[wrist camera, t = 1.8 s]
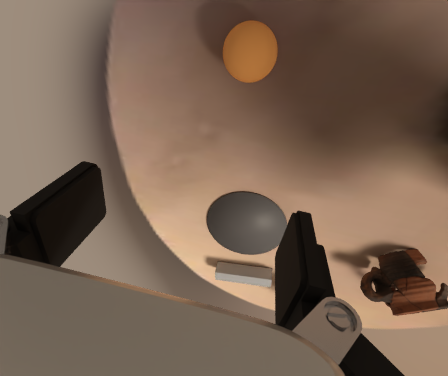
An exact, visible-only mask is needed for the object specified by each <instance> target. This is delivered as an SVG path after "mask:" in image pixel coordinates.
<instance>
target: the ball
mask: <svg viewBox="0 0 448 376" xmlns="http://www.w3.org/2000/svg"><path fill="white" fill-rule="evenodd" d="M277 53H278V46H277V41H276V38H275V36H274V34H273V32H272V31H271V30H270V28H269V27H268V26H266V25H265V24H263V23H261V22H259V21H253V20H251V21H244V22H242V23H240V24H238V25H236V26H235V27H234V28H233V29H232V30H231V31H230V32H229V34H228V35H227V37H226V39H225V42H224V46H223V60H224V64H225V66H226V68H227V70H228V72H229V73H230V74H231V75H232V76H233V77H234V78H235V79H237V80H239V81H242V82H247V83H251V82H256V81H259V80H261V79H263V78H264V77H265V76H267V75H268V74H269V73H270V71H271V70H272V68H273V67H274V65H275V62H276V59H277Z"/></svg>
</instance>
